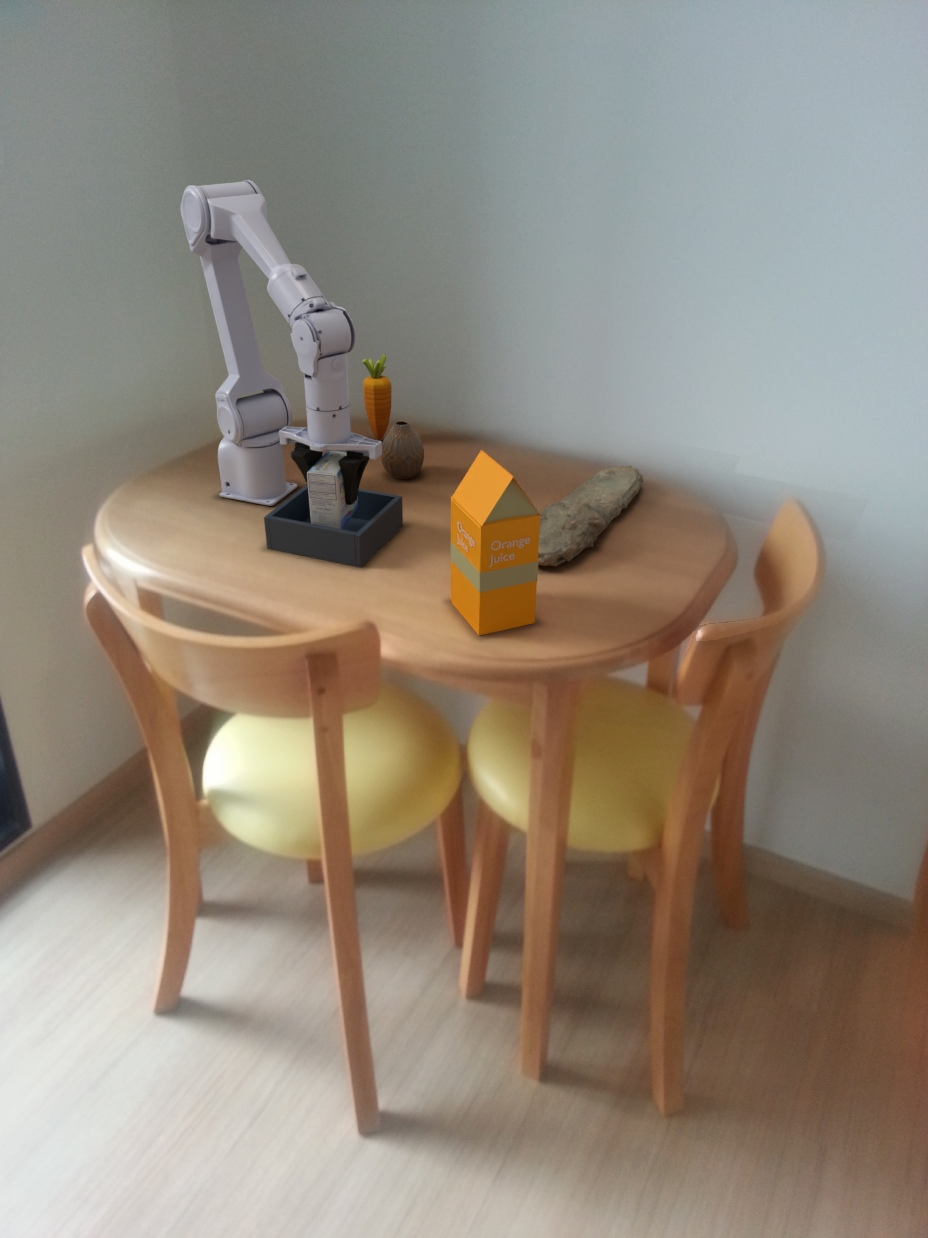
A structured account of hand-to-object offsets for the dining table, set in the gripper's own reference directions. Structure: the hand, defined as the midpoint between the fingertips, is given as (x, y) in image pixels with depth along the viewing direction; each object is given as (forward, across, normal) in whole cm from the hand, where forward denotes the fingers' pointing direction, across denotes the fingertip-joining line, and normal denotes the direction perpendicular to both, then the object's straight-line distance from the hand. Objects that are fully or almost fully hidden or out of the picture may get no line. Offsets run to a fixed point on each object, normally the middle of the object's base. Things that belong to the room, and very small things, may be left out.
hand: (333, 498), depth 134 cm
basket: (+6, 0, 0) cm, 6 cm away
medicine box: (+3, 0, 0) cm, 3 cm away
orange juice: (+6, +28, -11) cm, 30 cm away
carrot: (+6, -10, +36) cm, 38 cm away
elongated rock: (+6, +32, +18) cm, 37 cm away
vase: (+6, 0, +24) cm, 25 cm away
